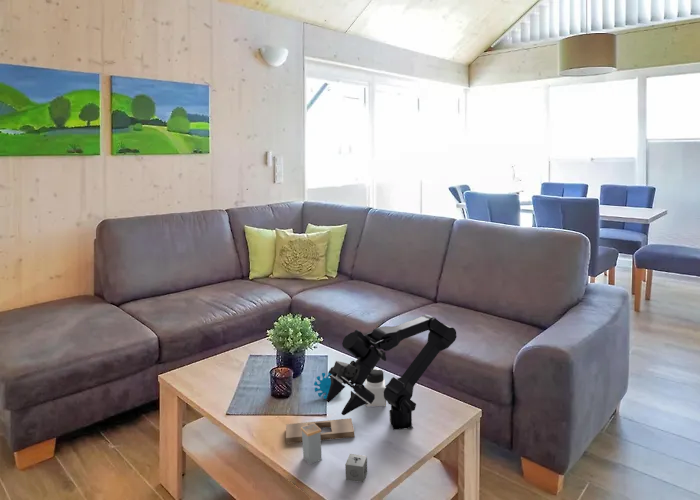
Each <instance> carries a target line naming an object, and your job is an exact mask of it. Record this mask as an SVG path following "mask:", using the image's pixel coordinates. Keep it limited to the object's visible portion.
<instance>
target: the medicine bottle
mask: <svg viewBox="0 0 700 500" xmlns="http://www.w3.org/2000/svg"><path fill="white" fill-rule="evenodd" d="M371 374H372V377H369V376H368V377H367V379H366V380H365V382H364V386H365V388H367V389H368V390H369V391H370V392H372V393H373V394H374V395H375V399H374V401H373V402H372V404H370V403H369V402H368V401H367V403H368V404H365V407H366V408H367V407H373V408H374V407H386V406H387V401H386V400H385V398H384V390H385V388H386V387H385V386H386V380H385V378H384V376H385V375H384V371H383V370H382V369H381V368H375V367H374V369H373V370H372V372H371Z"/></svg>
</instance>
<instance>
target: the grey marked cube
mask: <svg viewBox="0 0 700 500" xmlns="http://www.w3.org/2000/svg"><path fill="white" fill-rule="evenodd" d="M367 474H368V456H367V455H363V454H355V453H349V455H348V458H347V459H346V462H345V481H348V482H357V483H364V482H365V479H366V477H367Z"/></svg>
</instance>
